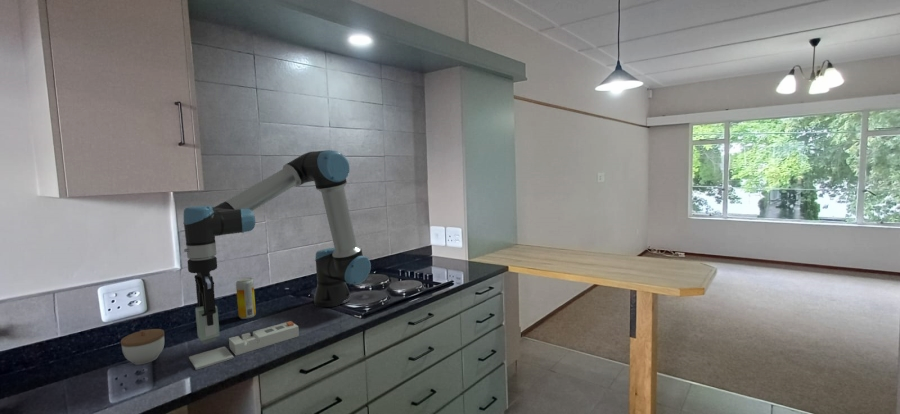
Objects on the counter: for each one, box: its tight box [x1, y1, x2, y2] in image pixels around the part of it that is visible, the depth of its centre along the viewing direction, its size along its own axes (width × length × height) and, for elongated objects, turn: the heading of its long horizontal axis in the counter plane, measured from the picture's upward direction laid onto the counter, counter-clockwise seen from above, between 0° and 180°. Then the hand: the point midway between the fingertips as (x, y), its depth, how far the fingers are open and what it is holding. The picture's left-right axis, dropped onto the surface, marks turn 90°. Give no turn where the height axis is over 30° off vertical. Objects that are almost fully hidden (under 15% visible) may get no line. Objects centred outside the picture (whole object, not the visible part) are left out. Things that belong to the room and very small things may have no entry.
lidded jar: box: [120, 328, 165, 365], centre depth 125 cm, size 11×11×9 cm
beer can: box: [235, 277, 257, 320], centre depth 159 cm, size 6×6×15 cm
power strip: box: [228, 320, 300, 356], centre depth 136 cm, size 20×7×4 cm, turn 132°
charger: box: [195, 305, 221, 345], centre depth 124 cm, size 5×4×10 cm
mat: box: [188, 345, 234, 371], centre depth 125 cm, size 10×10×1 cm
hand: (208, 332), depth 124 cm, fingers closed on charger, 4 cm apart
